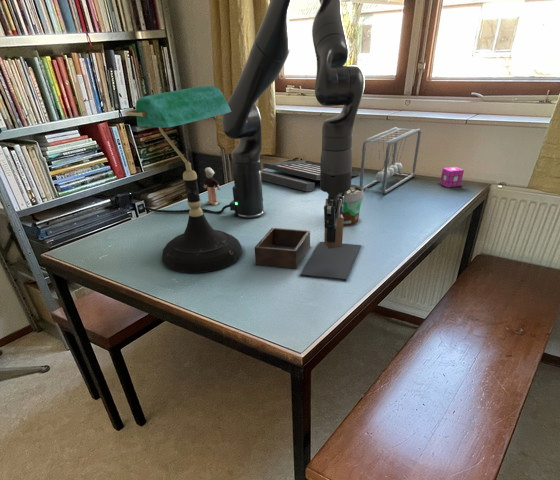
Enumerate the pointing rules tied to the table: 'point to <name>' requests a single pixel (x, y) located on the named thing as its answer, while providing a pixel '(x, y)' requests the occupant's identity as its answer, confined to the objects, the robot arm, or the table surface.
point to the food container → (352, 205)
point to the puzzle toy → (451, 177)
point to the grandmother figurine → (211, 186)
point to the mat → (331, 262)
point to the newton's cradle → (395, 166)
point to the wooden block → (338, 234)
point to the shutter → (294, 168)
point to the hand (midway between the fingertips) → (333, 237)
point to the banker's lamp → (190, 179)
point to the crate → (282, 256)
